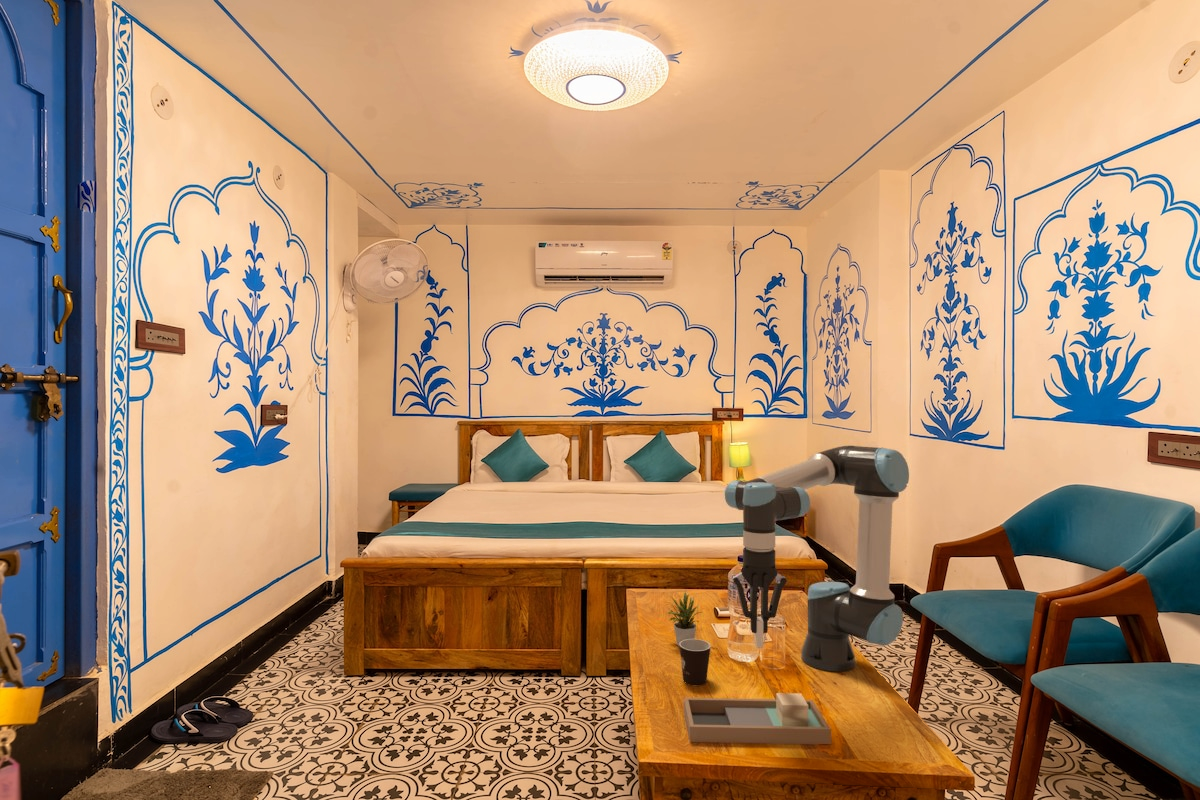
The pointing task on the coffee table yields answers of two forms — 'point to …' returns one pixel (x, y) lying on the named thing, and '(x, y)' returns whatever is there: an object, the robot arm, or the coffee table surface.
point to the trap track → (749, 722)
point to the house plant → (684, 619)
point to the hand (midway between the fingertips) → (758, 645)
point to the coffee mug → (694, 660)
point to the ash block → (792, 709)
